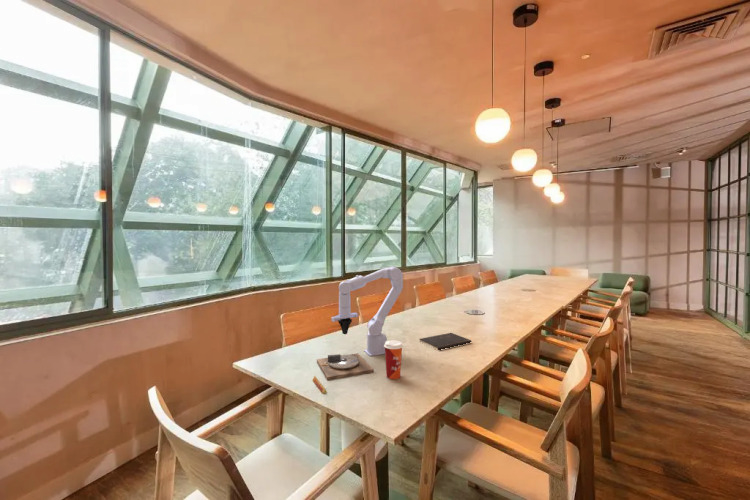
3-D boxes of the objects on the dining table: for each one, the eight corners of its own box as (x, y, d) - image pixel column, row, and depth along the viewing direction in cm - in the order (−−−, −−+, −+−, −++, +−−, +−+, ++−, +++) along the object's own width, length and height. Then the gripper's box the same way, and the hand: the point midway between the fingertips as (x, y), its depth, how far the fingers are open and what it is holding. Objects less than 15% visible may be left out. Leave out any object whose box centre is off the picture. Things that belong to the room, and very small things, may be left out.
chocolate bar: (317, 380, 128) (317, 374, 127) (328, 393, 117) (328, 387, 117) (311, 381, 126) (311, 376, 126) (321, 394, 116) (321, 388, 116)
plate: (357, 355, 153) (357, 352, 153) (373, 372, 134) (373, 368, 134) (316, 361, 145) (316, 358, 145) (327, 380, 127) (327, 376, 127)
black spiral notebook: (419, 342, 174) (419, 338, 173) (451, 336, 184) (451, 332, 184) (438, 352, 159) (438, 347, 159) (471, 344, 170) (471, 340, 170)
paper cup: (397, 382, 125) (397, 347, 124) (380, 377, 129) (380, 343, 128) (406, 375, 131) (406, 341, 131) (389, 370, 136) (390, 338, 135)
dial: (327, 359, 145) (327, 350, 145) (356, 356, 147) (356, 348, 147) (328, 370, 132) (328, 361, 132) (360, 368, 135) (360, 359, 135)
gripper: (351, 302, 163) (351, 329, 163) (327, 307, 153) (327, 334, 153) (360, 305, 157) (360, 332, 158) (336, 309, 148) (336, 338, 148)
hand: (344, 333), depth 155 cm, fingers closed
